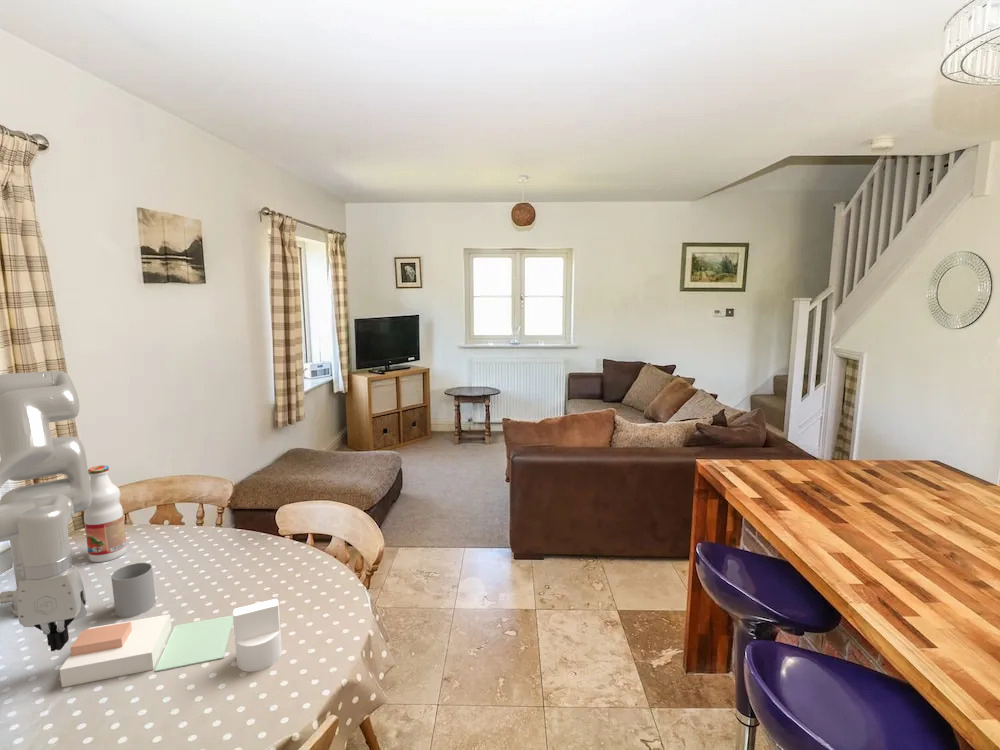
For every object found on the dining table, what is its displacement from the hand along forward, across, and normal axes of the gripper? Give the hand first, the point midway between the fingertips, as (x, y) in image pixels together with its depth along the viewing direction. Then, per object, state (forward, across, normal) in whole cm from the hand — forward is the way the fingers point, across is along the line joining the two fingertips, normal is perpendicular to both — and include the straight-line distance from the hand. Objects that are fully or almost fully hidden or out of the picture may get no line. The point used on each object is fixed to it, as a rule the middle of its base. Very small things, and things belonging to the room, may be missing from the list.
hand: (59, 646), depth 109 cm
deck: (+5, +11, 0) cm, 12 cm away
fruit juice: (+5, -10, +54) cm, 55 cm away
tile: (+1, +8, 0) cm, 8 cm away
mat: (+5, +26, 0) cm, 26 cm away
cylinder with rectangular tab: (+5, +40, -10) cm, 41 cm away
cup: (+5, +8, +20) cm, 22 cm away
